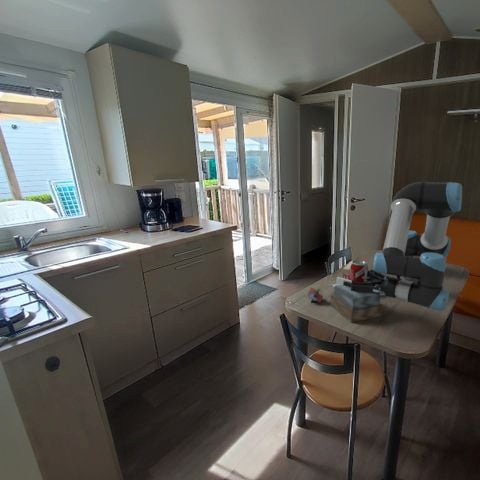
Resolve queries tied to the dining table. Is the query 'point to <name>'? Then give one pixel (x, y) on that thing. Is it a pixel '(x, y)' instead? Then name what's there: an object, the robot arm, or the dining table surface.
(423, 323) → the dining table surface
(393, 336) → the dining table surface
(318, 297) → the geometric puzzle
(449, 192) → the robot arm
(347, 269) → the stack of blocks
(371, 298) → the grey brown square block
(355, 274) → the soda can
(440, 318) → the dining table surface
